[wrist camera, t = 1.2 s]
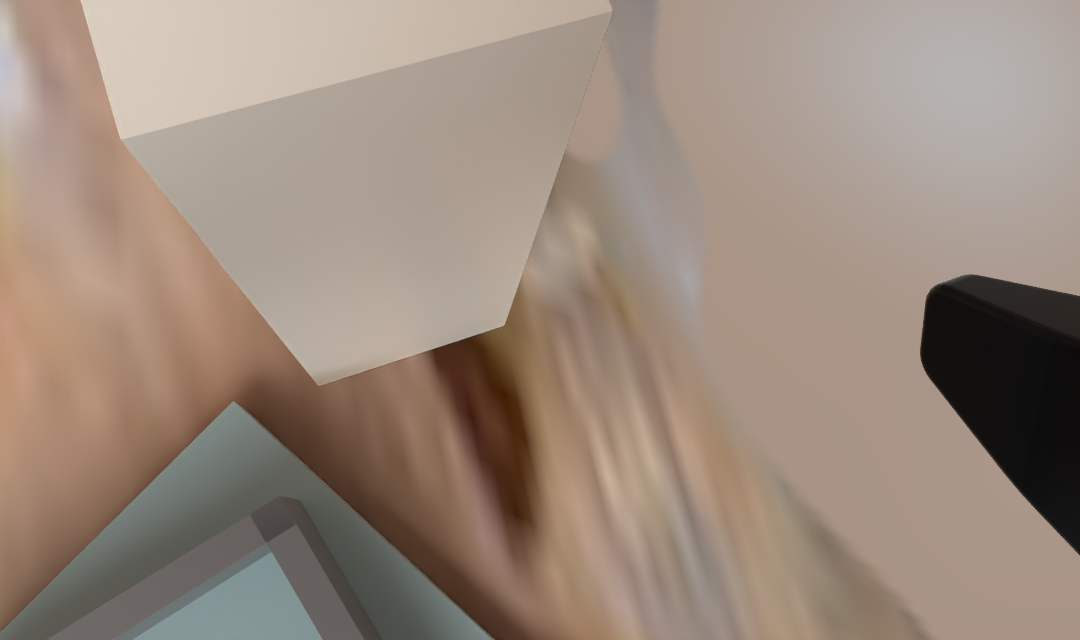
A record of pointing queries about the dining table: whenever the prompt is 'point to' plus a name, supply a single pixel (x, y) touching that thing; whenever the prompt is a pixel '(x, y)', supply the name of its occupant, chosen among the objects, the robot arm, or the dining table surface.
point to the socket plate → (211, 509)
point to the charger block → (355, 152)
